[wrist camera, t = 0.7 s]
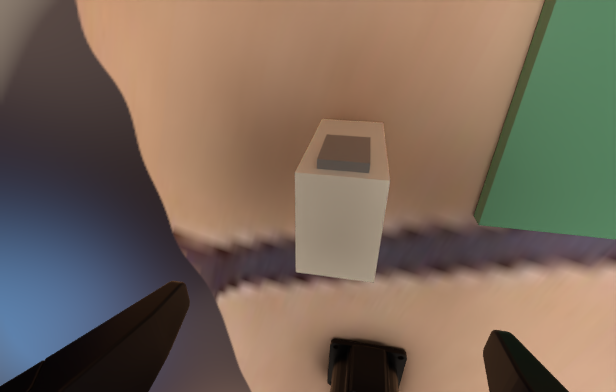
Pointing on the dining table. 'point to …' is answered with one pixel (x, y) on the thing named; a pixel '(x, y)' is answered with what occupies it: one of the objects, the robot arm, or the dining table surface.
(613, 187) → the circuit board
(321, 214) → the light grey upright block
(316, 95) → the dining table surface
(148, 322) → the robot arm
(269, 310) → the dining table surface
